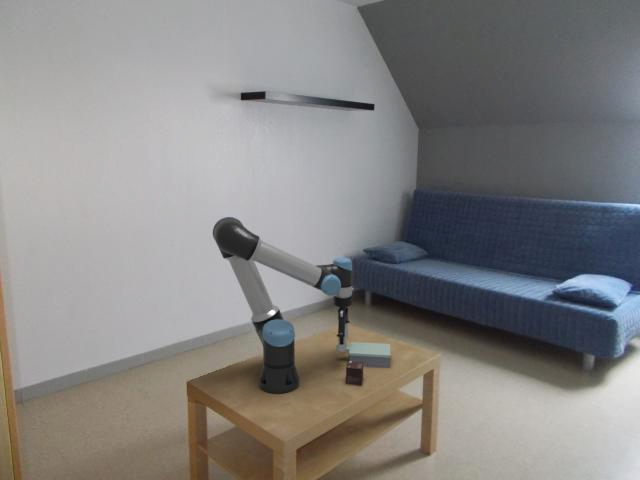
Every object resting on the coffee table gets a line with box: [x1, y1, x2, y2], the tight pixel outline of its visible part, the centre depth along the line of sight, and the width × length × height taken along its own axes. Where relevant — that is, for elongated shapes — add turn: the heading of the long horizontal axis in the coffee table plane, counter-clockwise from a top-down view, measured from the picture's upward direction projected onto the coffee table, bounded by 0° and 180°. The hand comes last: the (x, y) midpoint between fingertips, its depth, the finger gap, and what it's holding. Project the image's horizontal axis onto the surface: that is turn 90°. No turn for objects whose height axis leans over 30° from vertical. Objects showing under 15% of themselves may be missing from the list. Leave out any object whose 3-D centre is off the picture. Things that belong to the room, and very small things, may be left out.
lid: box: [335, 339, 391, 358], centre depth 204 cm, size 22×12×4 cm, turn 82°
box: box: [345, 360, 364, 387], centre depth 187 cm, size 6×6×7 cm
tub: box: [349, 355, 391, 369], centre depth 205 cm, size 16×11×5 cm
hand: (343, 344), depth 205 cm, fingers open, 13 cm apart
